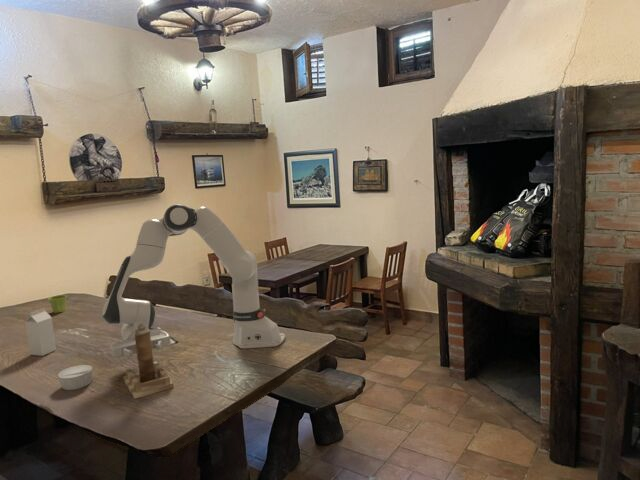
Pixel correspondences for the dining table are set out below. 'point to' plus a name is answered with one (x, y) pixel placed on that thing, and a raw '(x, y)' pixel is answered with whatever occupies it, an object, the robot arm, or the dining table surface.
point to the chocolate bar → (173, 340)
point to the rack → (149, 387)
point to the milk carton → (40, 333)
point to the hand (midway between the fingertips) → (144, 350)
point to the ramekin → (75, 377)
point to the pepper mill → (144, 354)
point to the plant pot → (58, 303)
